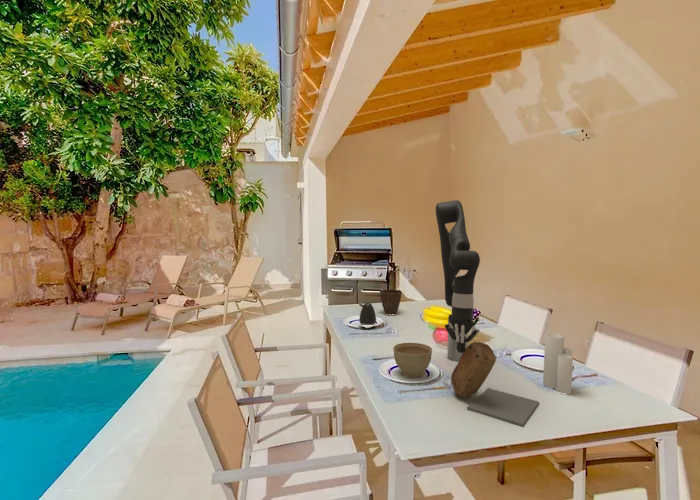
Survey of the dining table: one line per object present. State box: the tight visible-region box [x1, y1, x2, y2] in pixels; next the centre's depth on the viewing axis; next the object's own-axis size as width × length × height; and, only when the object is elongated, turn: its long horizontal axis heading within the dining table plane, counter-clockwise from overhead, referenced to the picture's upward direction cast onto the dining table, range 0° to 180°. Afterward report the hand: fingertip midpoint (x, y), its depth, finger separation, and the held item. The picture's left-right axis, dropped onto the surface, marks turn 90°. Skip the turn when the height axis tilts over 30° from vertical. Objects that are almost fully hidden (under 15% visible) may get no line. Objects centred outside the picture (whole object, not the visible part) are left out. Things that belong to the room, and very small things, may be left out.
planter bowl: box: [392, 342, 433, 378], centre depth 165 cm, size 16×16×11 cm
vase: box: [542, 332, 574, 394], centre depth 150 cm, size 11×7×20 cm, turn 27°
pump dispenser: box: [358, 302, 377, 326], centre depth 236 cm, size 10×10×15 cm
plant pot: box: [379, 289, 403, 315], centre depth 270 cm, size 15×15×16 cm
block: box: [450, 341, 497, 399], centre depth 141 cm, size 11×8×20 cm
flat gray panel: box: [466, 387, 540, 428], centre depth 136 cm, size 20×18×1 cm
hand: (460, 352), depth 144 cm, fingers closed
